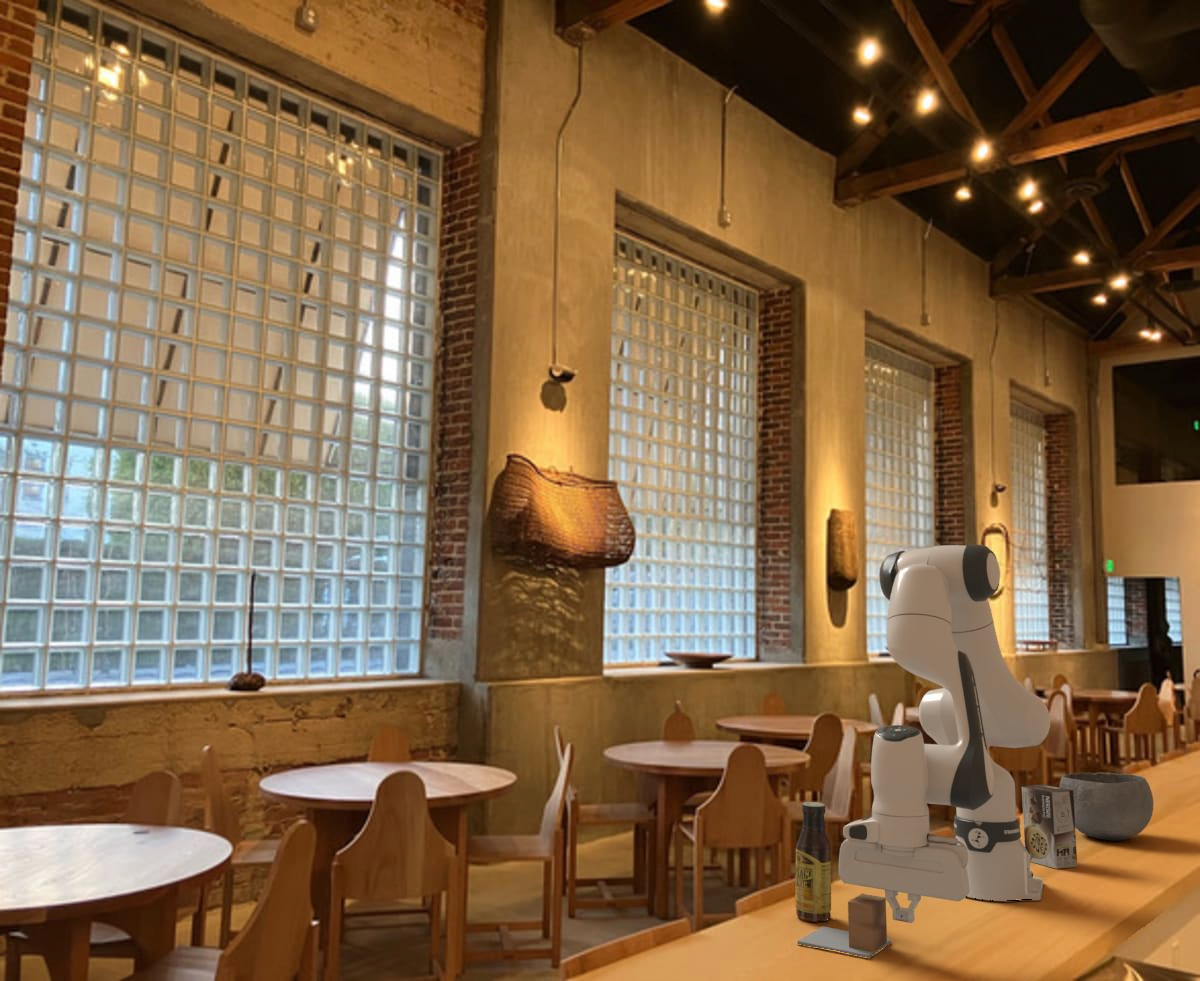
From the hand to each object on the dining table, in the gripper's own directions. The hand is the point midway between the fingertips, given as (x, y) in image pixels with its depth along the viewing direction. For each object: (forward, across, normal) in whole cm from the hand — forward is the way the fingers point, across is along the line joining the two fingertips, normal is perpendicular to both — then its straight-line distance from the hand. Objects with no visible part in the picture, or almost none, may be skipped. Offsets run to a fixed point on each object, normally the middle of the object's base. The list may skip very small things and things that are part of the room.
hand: (903, 920), depth 164 cm
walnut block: (+5, +6, 0) cm, 8 cm away
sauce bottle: (+6, +20, -10) cm, 23 cm away
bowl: (+6, -10, -116) cm, 116 cm away
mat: (+5, +10, 0) cm, 11 cm away
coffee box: (+6, -4, -80) cm, 80 cm away
